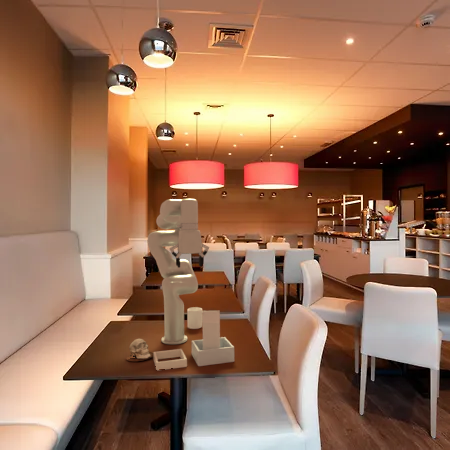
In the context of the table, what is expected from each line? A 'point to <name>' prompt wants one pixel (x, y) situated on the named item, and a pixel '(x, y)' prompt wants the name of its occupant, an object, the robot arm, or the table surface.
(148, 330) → the table surface
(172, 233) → the robot arm
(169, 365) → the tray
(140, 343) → the skull
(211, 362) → the tub
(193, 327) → the mug
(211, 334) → the milk carton
